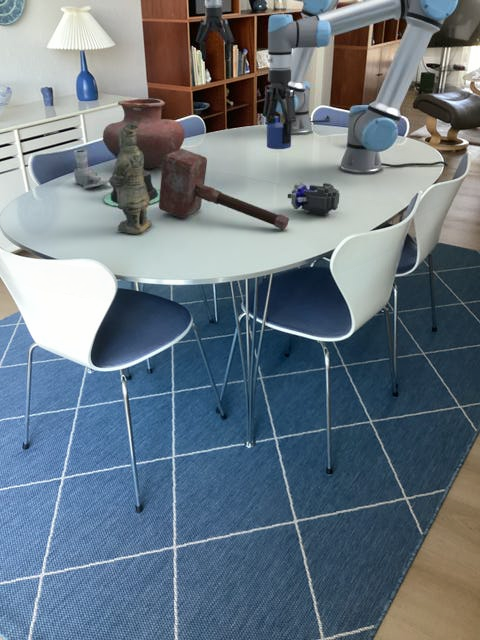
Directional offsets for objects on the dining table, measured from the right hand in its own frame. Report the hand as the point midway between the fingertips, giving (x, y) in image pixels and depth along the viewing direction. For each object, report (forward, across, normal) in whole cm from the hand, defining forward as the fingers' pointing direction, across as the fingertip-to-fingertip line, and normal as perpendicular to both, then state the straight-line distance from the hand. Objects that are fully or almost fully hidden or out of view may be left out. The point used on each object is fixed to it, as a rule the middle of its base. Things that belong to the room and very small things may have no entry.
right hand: (278, 140), depth 191 cm
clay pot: (+15, -47, -31) cm, 58 cm away
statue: (+15, +14, -60) cm, 64 cm away
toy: (+15, +32, -9) cm, 36 cm away
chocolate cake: (+15, -14, -49) cm, 53 cm away
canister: (+2, 0, 0) cm, 2 cm away
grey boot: (+15, -35, -57) cm, 69 cm away
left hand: (-18, -86, +24) cm, 91 cm away
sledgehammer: (+15, +22, -35) cm, 44 cm away
